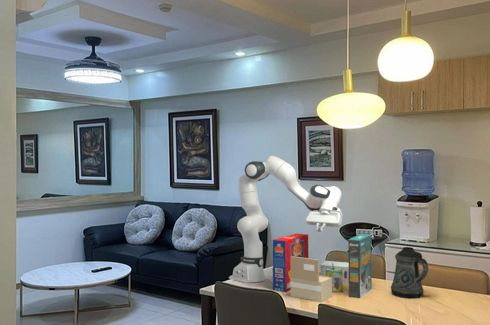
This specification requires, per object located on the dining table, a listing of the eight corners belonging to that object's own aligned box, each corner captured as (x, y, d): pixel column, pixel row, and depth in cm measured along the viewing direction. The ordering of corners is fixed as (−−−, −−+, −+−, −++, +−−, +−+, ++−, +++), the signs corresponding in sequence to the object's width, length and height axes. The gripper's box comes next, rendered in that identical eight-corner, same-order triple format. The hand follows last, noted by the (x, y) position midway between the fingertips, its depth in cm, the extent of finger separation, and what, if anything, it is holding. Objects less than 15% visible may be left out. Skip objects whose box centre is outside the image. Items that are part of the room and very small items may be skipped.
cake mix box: (360, 287, 270) (360, 234, 270) (371, 288, 267) (371, 234, 267) (348, 296, 251) (348, 239, 251) (360, 298, 248) (359, 240, 248)
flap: (290, 277, 251) (290, 256, 251) (291, 277, 252) (291, 256, 252) (317, 282, 241) (317, 260, 241) (319, 281, 242) (318, 259, 242)
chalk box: (342, 292, 259) (342, 265, 259) (325, 291, 261) (325, 264, 261) (342, 288, 268) (342, 261, 268) (326, 287, 270) (326, 261, 270)
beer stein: (393, 289, 266) (393, 244, 266) (430, 293, 257) (430, 246, 257) (388, 296, 251) (388, 248, 251) (427, 301, 242) (427, 251, 242)
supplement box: (320, 279, 289) (319, 264, 289) (325, 275, 301) (324, 260, 301) (348, 282, 282) (348, 266, 282) (352, 277, 294) (352, 262, 294)
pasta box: (285, 292, 260) (285, 241, 261) (273, 290, 265) (272, 239, 265) (308, 281, 284) (308, 234, 284) (296, 279, 288) (296, 233, 288)
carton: (290, 296, 252) (290, 276, 252) (302, 291, 262) (301, 272, 262) (321, 302, 242) (320, 281, 242) (332, 296, 251) (331, 277, 251)
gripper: (309, 206, 272) (300, 225, 264) (342, 208, 260) (334, 228, 252) (312, 213, 275) (304, 233, 268) (345, 216, 263) (338, 236, 255)
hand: (319, 231), depth 260 cm, fingers closed
